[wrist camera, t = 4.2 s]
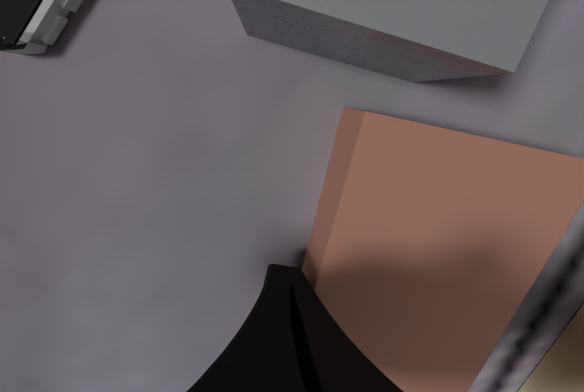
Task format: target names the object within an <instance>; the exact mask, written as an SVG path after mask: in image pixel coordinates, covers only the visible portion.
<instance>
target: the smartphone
mask: <svg viewBox="0 0 584 392" xmlns="http://www.w3.org/2000/svg"><path fill="white" fill-rule="evenodd" d="M82 1H83V0H0V50H1V51H4V52H10V53H16V54H21V55H27V54H39V53H44V52H45V50H46V49H47V47H48V45H49V44H50V45H53V44H54V42H55V41H56V39H57V37H58V36H59V34H60V33H61V31H62V30H63V28H64V26H65V25H66V23H67V22H68V19H67V18H66V16H67V15H68V13H69V11H72V12H74V13H76V11H77V10H78V8H79V6H80V5H81V3H82Z"/></svg>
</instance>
